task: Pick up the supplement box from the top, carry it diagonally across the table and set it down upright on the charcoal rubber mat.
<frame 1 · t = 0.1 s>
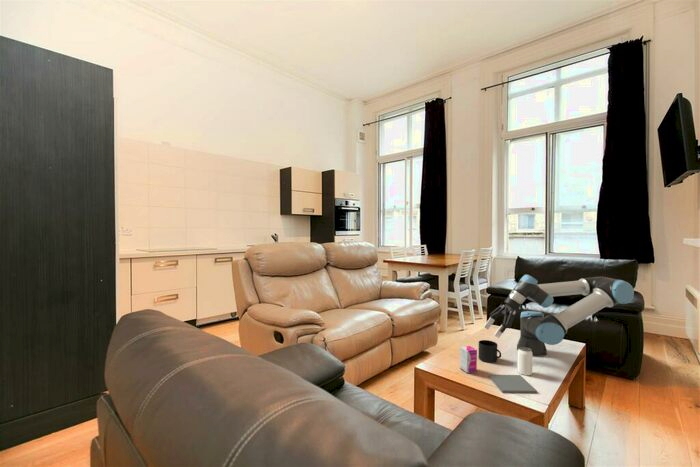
hand: (490, 332, 175), 15 cm above the table, tool tilted 35°, fingers open, 13 cm apart
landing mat: (511, 384, 149), on the table
mug: (490, 360, 176), on the table
supplement box: (468, 370, 164), on the table
can: (524, 373, 161), on the table
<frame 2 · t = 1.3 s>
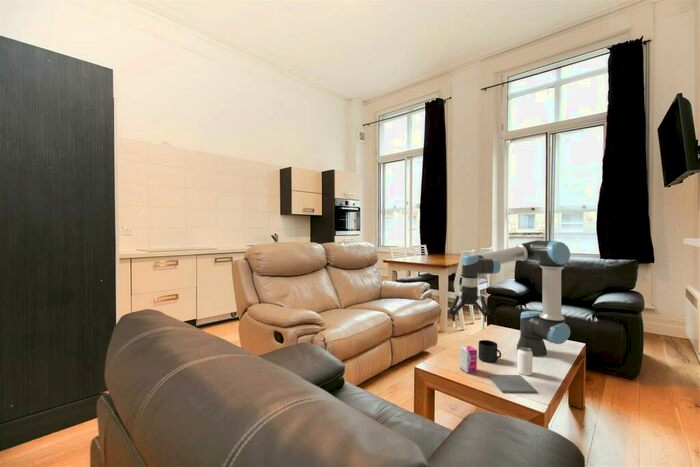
hand: (468, 328, 163), 21 cm above the table, tool pointing down, fingers open, 13 cm apart
nothing on the table moved.
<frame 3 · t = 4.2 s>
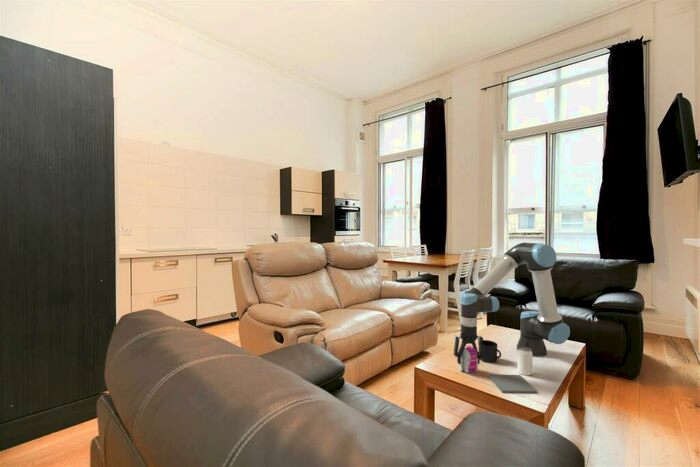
hand: (468, 370, 164), 0 cm above the table, tool pointing down, fingers closed on supplement box, 7 cm apart
supplement box: (468, 370, 164), on the table, touching gripper
everything else where it was.
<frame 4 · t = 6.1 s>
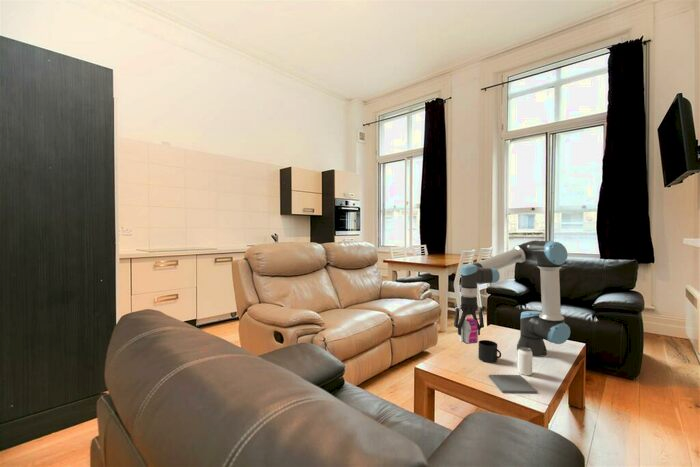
hand: (468, 341, 163), 15 cm above the table, tool pointing down, fingers closed on supplement box, 7 cm apart
supplement box: (468, 342, 163), point 14 cm above the table, touching gripper
everything else where it was.
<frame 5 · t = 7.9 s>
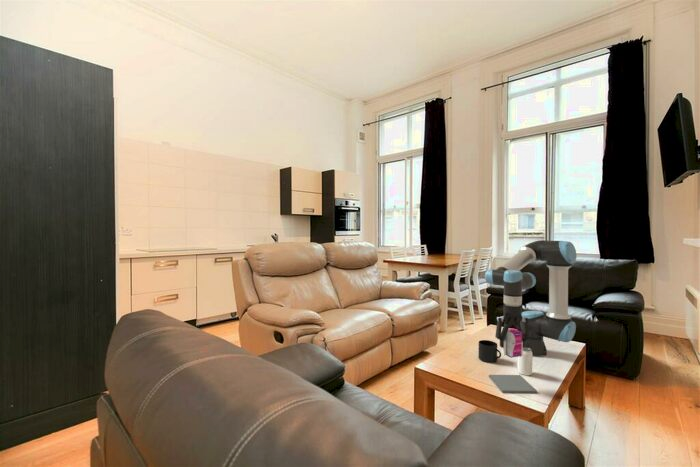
hand: (511, 354, 149), 14 cm above the table, tool pointing down, fingers closed on supplement box, 7 cm apart
supplement box: (511, 355, 149), point 14 cm above the table, touching gripper
everything else where it was.
when the fingers open (2 cm above the table, at t = 10.6 s): supplement box drops 1 cm, resting on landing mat.
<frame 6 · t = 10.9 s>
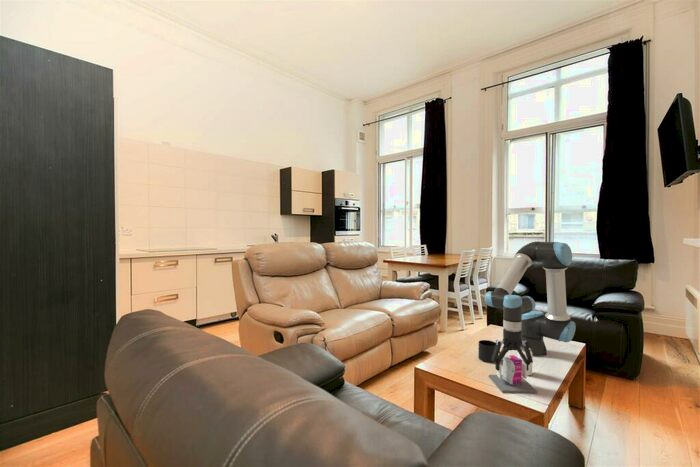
hand: (511, 377, 149), 3 cm above the table, tool pointing down, fingers open, 10 cm apart
supplement box: (512, 382, 149), point 1 cm above the table, touching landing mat
everything else where it was.
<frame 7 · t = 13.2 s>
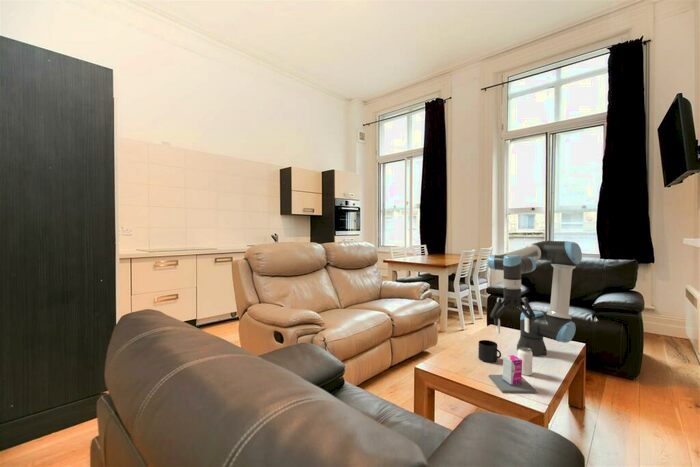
hand: (512, 332, 154), 22 cm above the table, tool pointing down, fingers open, 13 cm apart
nothing on the table moved.
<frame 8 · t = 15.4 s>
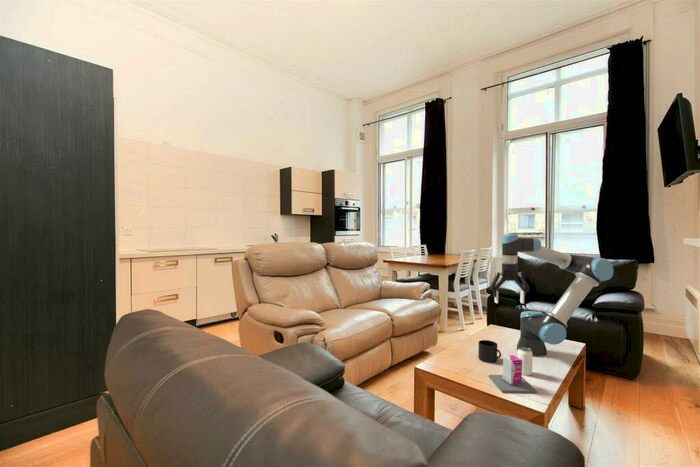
hand: (509, 303, 173), 32 cm above the table, tool pointing down, fingers open, 13 cm apart
nothing on the table moved.
at the end: supplement box inside the target area on the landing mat (0.2 cm from its centre), point 0.8 cm above the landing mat's base; supplement box tilted 0°; the gripper is holding nothing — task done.
